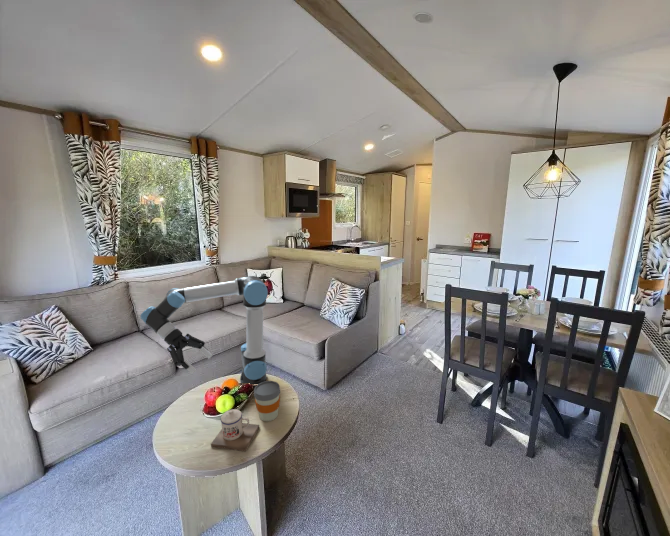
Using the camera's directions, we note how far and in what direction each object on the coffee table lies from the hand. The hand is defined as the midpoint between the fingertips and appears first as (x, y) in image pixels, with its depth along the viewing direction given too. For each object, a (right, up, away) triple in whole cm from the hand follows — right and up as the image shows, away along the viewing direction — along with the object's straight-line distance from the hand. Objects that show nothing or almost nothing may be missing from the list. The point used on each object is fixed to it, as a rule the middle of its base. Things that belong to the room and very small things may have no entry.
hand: (203, 364), depth 142 cm
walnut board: (+19, -30, -8) cm, 36 cm away
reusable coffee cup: (+30, -27, +6) cm, 41 cm away
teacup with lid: (+19, -29, -8) cm, 35 cm away
